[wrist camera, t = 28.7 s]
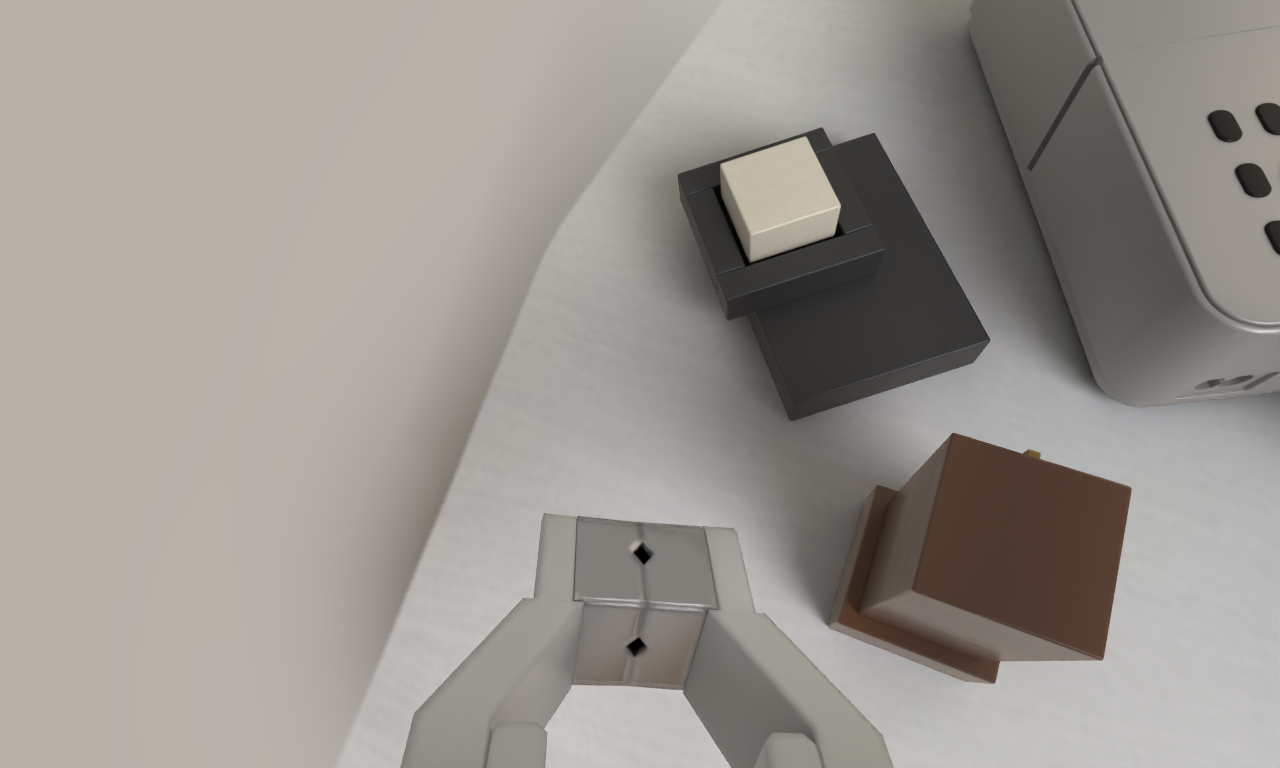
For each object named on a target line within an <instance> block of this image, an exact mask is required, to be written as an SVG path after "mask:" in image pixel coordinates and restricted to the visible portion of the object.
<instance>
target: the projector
mask: <svg viewBox="0 0 1280 768" xmlns="http://www.w3.org/2000/svg"><path fill="white" fill-rule="evenodd" d="M970 14H971V17H970V20H969V24H968V29H969V33H970V36H971V38H972V41H973V44H974V47H975V49H976V52H977V55H978V58H979V60H980V63H981V66H982V69H983V72H984V74H985V77H986V80H987V83H988V85H989V88H990V91H991V94H992V96H993V99H994V102H995V105H996V107H997V110H998V113H999V116H1000V118H1001V121H1002V124H1003V127H1004V130H1005V132H1006V135H1007V138H1008V141H1009V143H1010V146H1011V149H1012V152H1013V154H1014V157H1015V160H1016V163H1017V165H1018V168H1019V171H1020V174H1021V177H1022V179H1023V182H1024V185H1025V188H1026V190H1027V193H1028V196H1029V199H1030V201H1031V204H1032V207H1033V210H1034V212H1035V215H1036V218H1037V221H1038V224H1039V226H1040V229H1041V232H1042V235H1043V237H1044V240H1045V243H1046V246H1047V248H1048V251H1049V254H1050V257H1051V259H1052V262H1053V265H1054V268H1055V270H1056V273H1057V276H1058V279H1059V282H1060V284H1061V287H1062V290H1063V293H1064V295H1065V298H1066V301H1067V304H1068V306H1069V309H1070V312H1071V315H1072V317H1073V320H1074V323H1075V326H1076V329H1077V331H1078V334H1079V337H1080V340H1081V342H1082V345H1083V348H1084V351H1085V353H1086V356H1087V359H1088V362H1089V364H1090V367H1091V370H1092V373H1093V376H1094V378H1095V380H1096V382H1097V384H1098V386H1099V387H1100V388H1101V389H1102V391H1104V392H1105V393H1106V394H1107V395H1108V396H1109V397H1111V398H1112V399H1114V400H1116V401H1117V402H1120V403H1122V404H1125V405H1128V406H1133V407H1151V406H1160V405H1169V404H1177V403H1186V402H1195V401H1204V400H1212V399H1221V398H1230V397H1239V396H1247V395H1256V394H1265V393H1273V392H1280V0H972V3H971V7H970Z"/></svg>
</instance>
